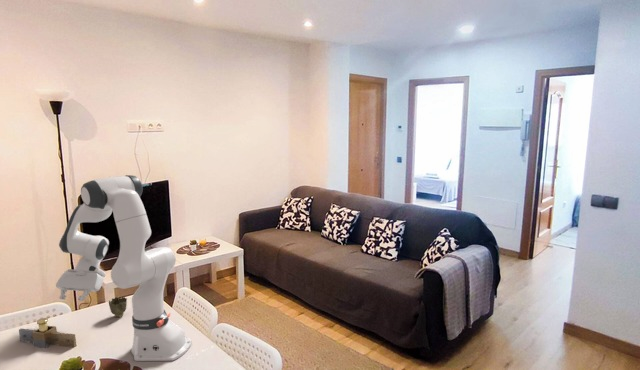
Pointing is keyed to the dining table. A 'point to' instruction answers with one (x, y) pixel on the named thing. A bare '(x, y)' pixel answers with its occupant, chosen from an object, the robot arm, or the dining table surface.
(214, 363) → the dining table surface
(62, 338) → the hinge
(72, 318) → the dining table surface
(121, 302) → the cup
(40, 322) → the hinge pin
